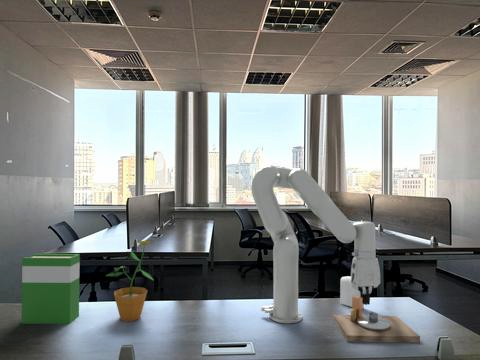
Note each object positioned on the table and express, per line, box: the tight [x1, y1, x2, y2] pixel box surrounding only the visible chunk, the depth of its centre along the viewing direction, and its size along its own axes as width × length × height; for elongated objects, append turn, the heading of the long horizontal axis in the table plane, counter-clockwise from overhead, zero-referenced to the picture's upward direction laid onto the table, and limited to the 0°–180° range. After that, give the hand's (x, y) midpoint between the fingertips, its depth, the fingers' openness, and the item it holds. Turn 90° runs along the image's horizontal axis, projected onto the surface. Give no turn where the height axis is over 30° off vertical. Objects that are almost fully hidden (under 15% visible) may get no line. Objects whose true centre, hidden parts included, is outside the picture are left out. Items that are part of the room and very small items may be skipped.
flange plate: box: [351, 296, 390, 331], centre depth 126 cm, size 14×11×8 cm
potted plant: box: [104, 240, 154, 322], centre depth 135 cm, size 18×19×30 cm
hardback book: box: [21, 253, 81, 325], centre depth 132 cm, size 18×7×24 cm, turn 90°
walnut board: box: [332, 308, 421, 343], centre depth 125 cm, size 24×18×6 cm
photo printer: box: [339, 275, 365, 310], centre depth 150 cm, size 10×4×12 cm, turn 39°
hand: (365, 303), depth 132 cm, fingers closed
